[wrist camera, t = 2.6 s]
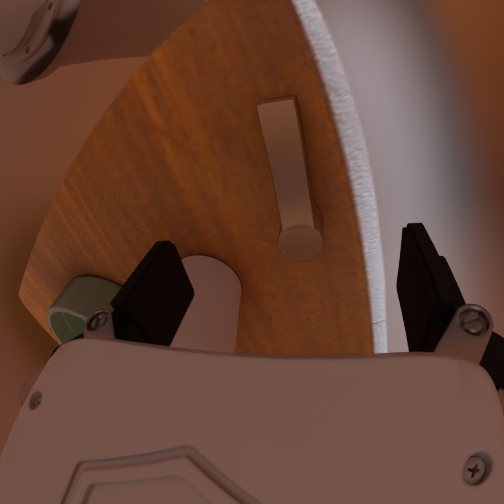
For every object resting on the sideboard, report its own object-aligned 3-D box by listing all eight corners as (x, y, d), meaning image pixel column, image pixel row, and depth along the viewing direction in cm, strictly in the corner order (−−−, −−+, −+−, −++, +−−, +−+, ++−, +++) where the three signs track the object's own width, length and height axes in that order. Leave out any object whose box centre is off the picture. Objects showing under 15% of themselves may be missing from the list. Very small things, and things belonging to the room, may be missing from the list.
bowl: (51, 274, 33) (27, 302, 28) (138, 271, 28) (109, 313, 23) (108, 351, 43) (94, 378, 38) (195, 365, 38) (182, 401, 33)
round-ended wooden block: (257, 101, 16) (247, 107, 14) (304, 93, 15) (303, 98, 13) (285, 237, 22) (281, 263, 20) (324, 234, 21) (325, 260, 19)
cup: (261, 315, 28) (234, 427, 19) (181, 312, 30) (139, 406, 21) (243, 240, 23) (195, 371, 14) (150, 245, 25) (80, 347, 16)
